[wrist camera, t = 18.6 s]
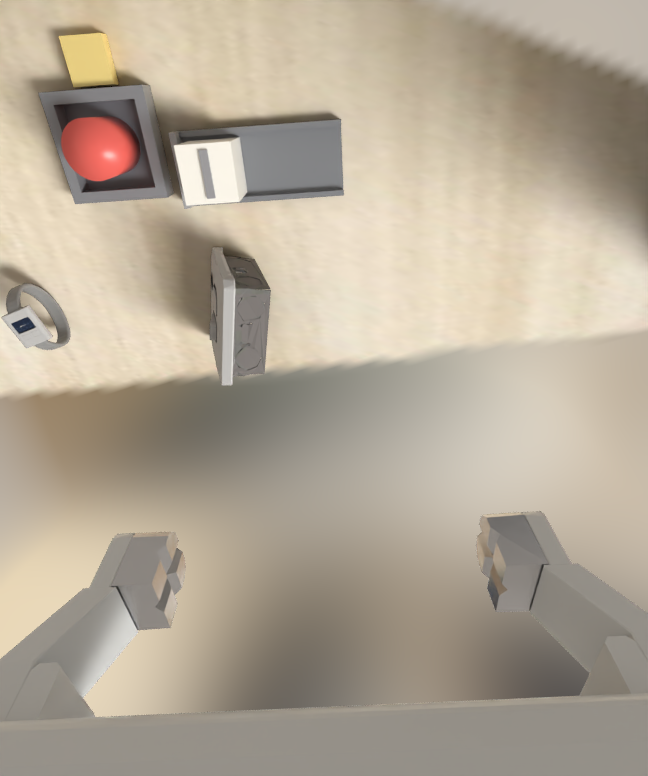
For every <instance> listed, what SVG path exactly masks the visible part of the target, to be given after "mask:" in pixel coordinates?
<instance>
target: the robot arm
mask: <svg viewBox="0 0 648 776" xmlns="http://www.w3.org/2000/svg"><path fill="white" fill-rule="evenodd" d="M479 525H480V528H481V530H482V532H481V533H480V534H479V535H478V536H477V544H476V547H477V557H478V562H479V565H480V568H481V571H482V573H483V574H484V575H486V576H487V577H488V578H489V581H488V587H487V589H488V591H489V594H490V597H491V600H492V603H493V605H494V608H495V611H496V612H515V611H516V612H517V611H530V614H531V615H532V616H533V617H534V618H535V619H536V620H537V621H538V622H539V623H540V624H541V625H542V626H543V627H544V628H545V629H546V630H547V631H548V632H549V633H550V634H551V635H552V636H553V637H554V638H555V639H556V640H557V641H558V642H559V643H560V644H561V645H562V646H563V647H564V648H565V649H566V650H567V651H568V652H569V653H570V654H571V655H572V656H573V657H574V658H575V659H576V660H577V661H578V662H579V663H580V664H581V665H582V666H583V667H584V668H585V669H586V670H587V671H588V672H589V673H590V675H589V677H588V679H587V681H586V683H585V685H584V687H583V689H582V691H581V694H580V696H568V697H546V698H523V699H501V700H477V701H456V702H455V701H454V702H431V703H408V704H385V705H361V706H338V707H317V708H316V707H315V708H295V709H271V710H248V711H225V712H203V713H179V714H157V715H135V716H114V717H113V716H111V717H95V715H94V713H93V711H92V710H91V709H90V707H89V706H88V705H87V703H86V702H85V700H84V699H83V697H84V696H85V695H86V694H87V693H88V692H89V690H90V689H91V688H92V687H93V686H94V684H95V683H96V682H97V681H98V680H99V678H100V677H101V676H102V675H103V674H104V672H105V671H106V670H107V669H108V667H109V666H110V665H111V664H112V663H113V661H115V659H116V658H117V657H118V656H119V655H120V653H121V652H122V651H123V650H124V649H125V647H126V646H127V645H128V644H129V642H130V641H131V640H132V639H133V638H134V636H135V635H136V634H137V633H138V631H137V630H147V629H160V628H170V627H171V624H172V621H173V618H174V614H175V611H176V607H177V601H176V598H175V594H176V593H177V592H178V591H179V590H180V589H181V588H182V586H183V582H184V577H185V558H184V555H183V552H182V551H181V550H179V549H178V548H176V547H177V544H178V538H177V536H176V533H175V532H152V533H126V534H117V535H116V536H115V537H114V538H113V539H112V541H111V543H110V545H109V547H108V550H107V552H106V554H105V556H104V558H103V560H102V562H101V564H100V566H99V568H98V571H97V573H96V575H95V577H94V579H93V581H92V583H91V585H90V587H89V588H85V589H82V590H81V591H80V592H79V593H78V594H77V595H75V596H74V597H73V598H72V599H71V600H69V601H68V602H67V603H66V604H65V605H64V606H62V607H61V608H60V609H59V610H58V611H56V612H55V613H54V614H53V615H52V616H51V617H49V618H48V619H47V620H46V621H45V622H44V623H42V624H41V625H40V626H39V627H38V628H36V629H35V630H34V631H33V632H32V633H31V634H29V635H28V636H27V637H26V638H25V639H24V640H22V641H21V642H20V643H19V644H18V645H16V646H15V647H14V648H13V649H12V650H10V651H9V652H8V653H7V654H6V655H5V656H3V657H2V658H1V659H0V776H648V613H647V612H646V611H644V610H643V609H641V608H640V607H639V606H637V605H636V604H634V603H633V602H632V601H630V600H629V599H627V598H626V597H625V596H623V595H622V594H620V593H619V592H617V591H616V590H615V589H613V588H612V587H610V586H609V585H608V584H606V583H605V582H603V581H602V580H601V579H599V578H598V577H596V576H595V575H594V574H592V573H591V572H589V571H588V570H587V569H585V568H584V567H582V566H581V565H579V564H576V563H575V564H572V563H571V561H570V559H569V558H568V556H567V554H566V552H565V550H564V548H563V547H562V545H561V543H560V541H559V539H558V538H557V536H556V534H555V532H554V530H553V529H552V527H551V525H550V523H549V522H548V520H547V518H546V516H545V514H544V513H542V512H541V511H536V512H521V513H519V512H514V513H499V514H484V515H482V516H481V518H480V523H479Z"/></svg>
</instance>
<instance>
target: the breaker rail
mask: <svg viewBox="0 0 648 776" xmlns="http://www.w3.org/2000/svg"><path fill="white" fill-rule="evenodd" d="M168 134H169V139H170V143H171V148H172V153H173V157H174V162H175V167H176V171H177V176H178V181H179V185H180V190H181V195H182V199H183V204H184V209H187V208H191V207H193V206H199V205H189V206H186V202H185V197H184V192H183V187H182V183H181V178H180V173H179V168H178V164H177V159H176V154H175V149H174V145H177V144H180V143H184V142H187V141H195V140H208V139H222V138H235V137H240V143H241V150H242V157H243V164H244V171H245V178H246V185H247V193H246V194H245V196H244V197H243V198H242V199H241V201H240V202H232V203H241V202H255V201H270V200H284V199H298V198H312V197H326V196H341V195H344V190H343V172H342V146H341V119H335V120H321V121H308V122H295V123H281V124H268V125H254V126H241V127H228V128H214V129H201V130H187V131H175V132H170V133H168ZM218 204H227V203H218ZM204 205H213V204H204Z"/></svg>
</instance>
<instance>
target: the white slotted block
mask: <svg viewBox="0 0 648 776" xmlns="http://www.w3.org/2000/svg"><path fill="white" fill-rule="evenodd" d="M174 149H175V154H176V159H177V164H178V168H179V173H180V178H181V183H182V187H183V192H184V197H185V202H186V206H189V205H204V204H218V203H232V202H240V201H241V199H242V198H243V197H244V196H245V194H246V193H247V185H246V178H245V171H244V164H243V157H242V150H241V143H240V137H235V138H222V139H208V140H195V141H187V142H184V143H180V144H177V145H174Z"/></svg>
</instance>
